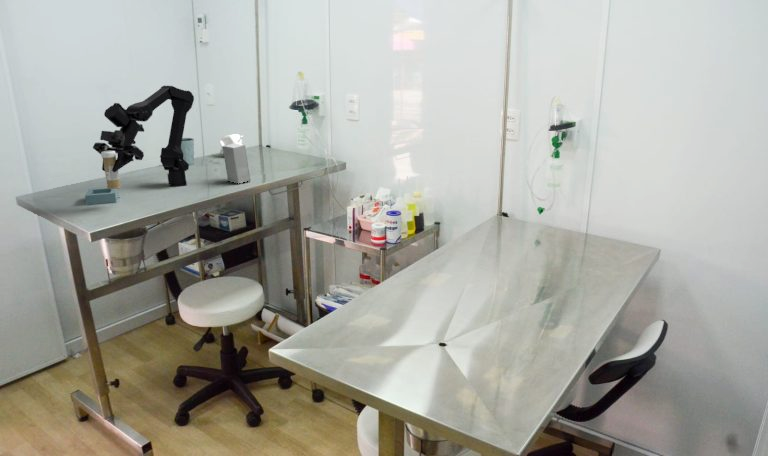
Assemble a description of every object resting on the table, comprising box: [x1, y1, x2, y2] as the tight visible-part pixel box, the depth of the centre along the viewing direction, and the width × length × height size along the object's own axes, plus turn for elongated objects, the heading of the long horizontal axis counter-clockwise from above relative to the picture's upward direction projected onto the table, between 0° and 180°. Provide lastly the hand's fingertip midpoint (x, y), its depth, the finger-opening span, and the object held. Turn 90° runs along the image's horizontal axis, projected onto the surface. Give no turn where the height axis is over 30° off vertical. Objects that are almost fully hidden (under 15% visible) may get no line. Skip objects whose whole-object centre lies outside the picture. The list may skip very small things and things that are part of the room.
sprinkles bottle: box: [100, 150, 122, 190], centre depth 198 cm, size 5×5×13 cm
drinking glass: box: [181, 137, 195, 166], centre depth 265 cm, size 10×10×12 cm
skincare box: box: [222, 144, 252, 185], centre depth 232 cm, size 8×7×16 cm
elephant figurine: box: [219, 133, 244, 156], centre depth 280 cm, size 12×18×12 cm
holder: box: [84, 187, 120, 206], centre depth 208 cm, size 10×10×4 cm
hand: (108, 171), depth 196 cm, fingers closed on sprinkles bottle, 4 cm apart
